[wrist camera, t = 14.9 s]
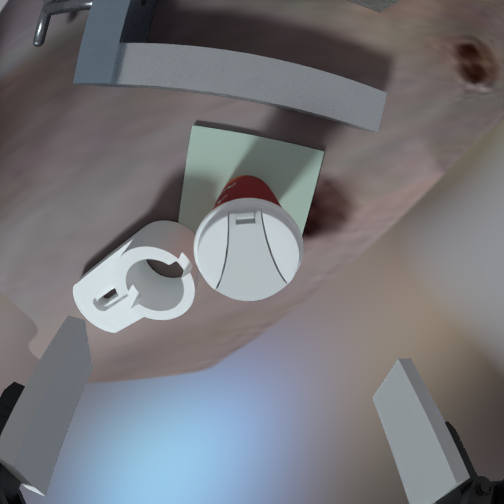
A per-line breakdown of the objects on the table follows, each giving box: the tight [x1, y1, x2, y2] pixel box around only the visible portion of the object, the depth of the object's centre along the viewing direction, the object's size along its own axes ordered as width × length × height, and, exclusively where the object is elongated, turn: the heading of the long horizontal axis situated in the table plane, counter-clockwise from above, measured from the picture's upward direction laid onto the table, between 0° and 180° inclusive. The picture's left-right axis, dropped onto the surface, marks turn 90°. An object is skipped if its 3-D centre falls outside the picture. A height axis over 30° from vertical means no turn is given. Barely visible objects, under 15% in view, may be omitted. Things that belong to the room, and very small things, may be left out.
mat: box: [178, 125, 324, 235], centre depth 33 cm, size 14×14×1 cm
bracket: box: [73, 220, 201, 333], centre depth 34 cm, size 20×9×7 cm, turn 123°
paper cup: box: [194, 175, 303, 301], centre depth 27 cm, size 8×8×14 cm
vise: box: [33, 0, 400, 133], centre depth 21 cm, size 37×19×7 cm, turn 79°
